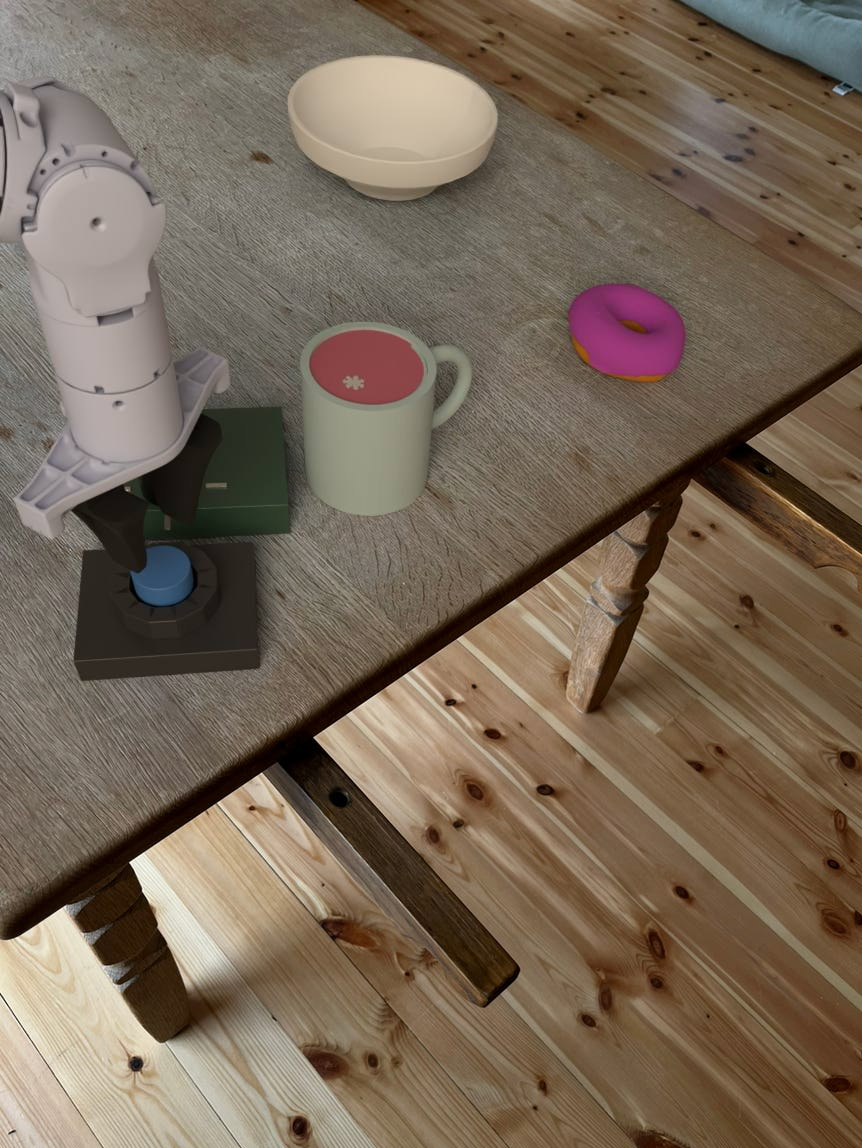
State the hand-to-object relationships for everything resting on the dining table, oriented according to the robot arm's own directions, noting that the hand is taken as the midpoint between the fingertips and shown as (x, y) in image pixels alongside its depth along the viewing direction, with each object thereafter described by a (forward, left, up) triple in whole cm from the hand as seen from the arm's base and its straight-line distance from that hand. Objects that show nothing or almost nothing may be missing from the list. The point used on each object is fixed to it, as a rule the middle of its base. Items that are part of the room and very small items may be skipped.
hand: (154, 539), depth 62 cm
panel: (+2, +12, -8) cm, 15 cm away
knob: (0, +9, -5) cm, 10 cm away
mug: (+16, +14, -8) cm, 23 cm away
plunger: (0, 0, -4) cm, 4 cm away
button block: (0, 0, -8) cm, 8 cm away
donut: (+37, +26, -8) cm, 46 cm away
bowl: (+20, +53, -8) cm, 57 cm away
